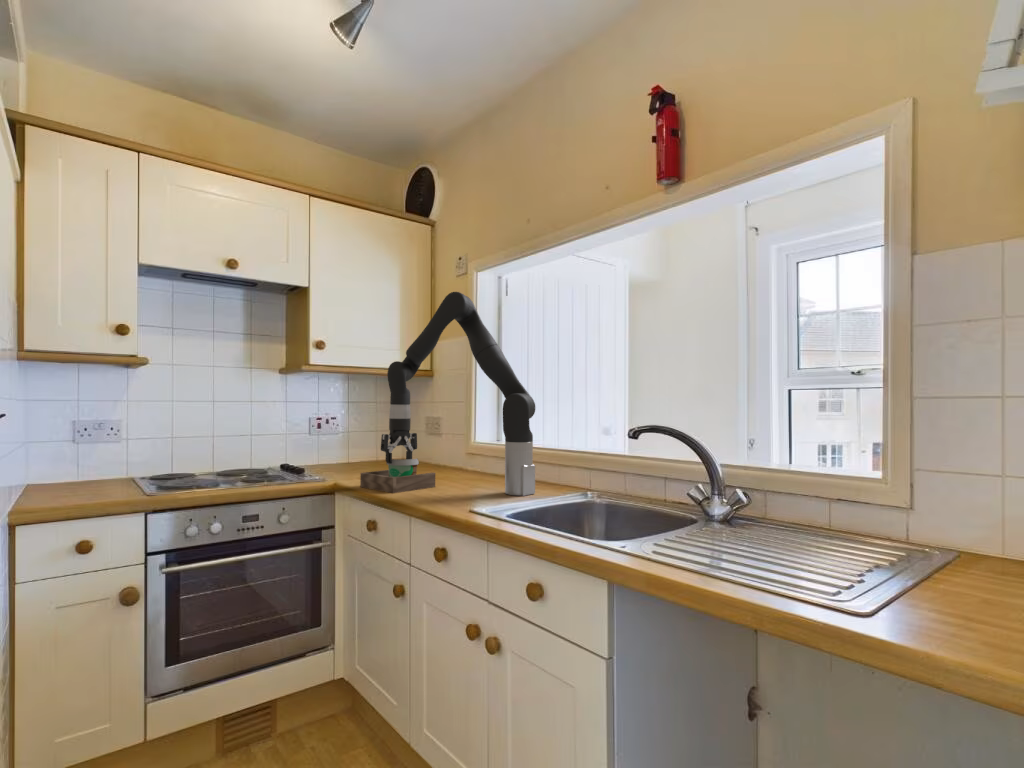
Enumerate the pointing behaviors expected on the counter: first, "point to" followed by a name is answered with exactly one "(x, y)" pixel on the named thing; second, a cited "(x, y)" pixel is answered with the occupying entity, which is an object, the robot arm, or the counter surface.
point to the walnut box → (396, 481)
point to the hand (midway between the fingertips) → (399, 462)
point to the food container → (403, 467)
